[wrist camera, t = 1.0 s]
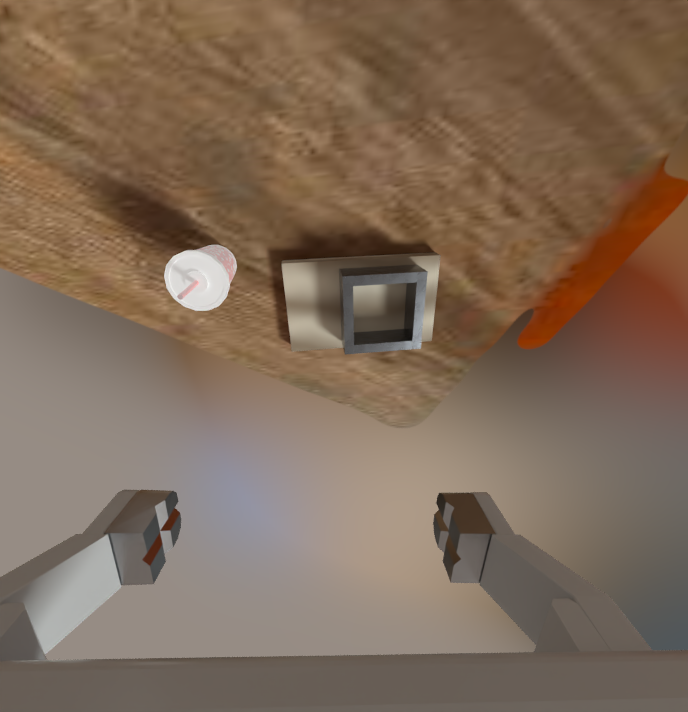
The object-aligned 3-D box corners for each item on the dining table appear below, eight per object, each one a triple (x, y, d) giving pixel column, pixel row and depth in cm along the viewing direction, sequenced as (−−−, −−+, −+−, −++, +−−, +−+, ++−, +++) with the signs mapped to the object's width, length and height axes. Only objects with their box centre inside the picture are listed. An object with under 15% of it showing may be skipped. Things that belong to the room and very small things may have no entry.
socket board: (282, 260, 41) (281, 263, 39) (434, 252, 43) (440, 255, 41) (292, 345, 47) (291, 351, 45) (426, 335, 48) (431, 340, 47)
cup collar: (338, 268, 40) (342, 276, 37) (416, 264, 41) (427, 271, 38) (341, 341, 45) (344, 354, 41) (411, 335, 46) (420, 348, 42)
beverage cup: (251, 256, 40) (229, 287, 28) (229, 296, 42) (199, 341, 30) (204, 227, 38) (158, 245, 26) (183, 270, 40) (130, 307, 28)
